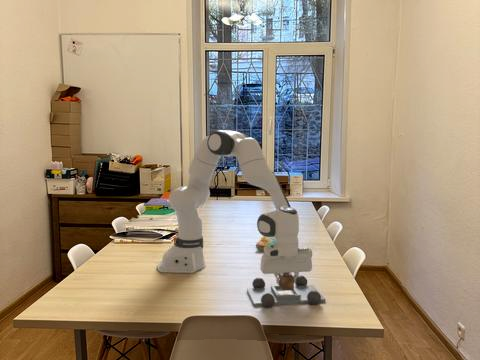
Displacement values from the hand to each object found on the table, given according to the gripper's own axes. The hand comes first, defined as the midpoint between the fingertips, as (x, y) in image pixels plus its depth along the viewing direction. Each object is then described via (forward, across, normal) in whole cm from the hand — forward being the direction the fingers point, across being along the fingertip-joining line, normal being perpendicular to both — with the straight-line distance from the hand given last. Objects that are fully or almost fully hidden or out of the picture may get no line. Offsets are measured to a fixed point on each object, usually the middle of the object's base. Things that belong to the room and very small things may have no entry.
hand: (285, 282), depth 166 cm
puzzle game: (+6, -10, -65) cm, 66 cm away
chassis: (+6, 0, 0) cm, 6 cm away
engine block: (+2, 0, 0) cm, 2 cm away
